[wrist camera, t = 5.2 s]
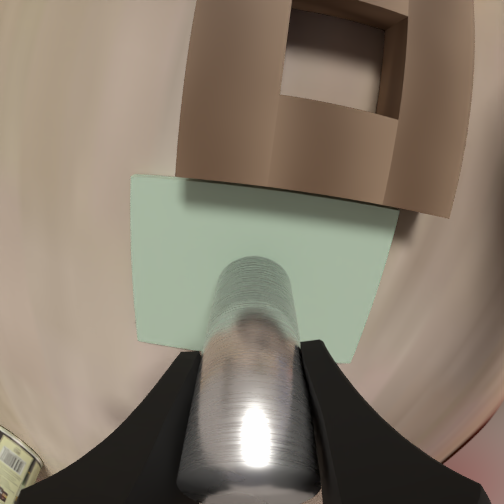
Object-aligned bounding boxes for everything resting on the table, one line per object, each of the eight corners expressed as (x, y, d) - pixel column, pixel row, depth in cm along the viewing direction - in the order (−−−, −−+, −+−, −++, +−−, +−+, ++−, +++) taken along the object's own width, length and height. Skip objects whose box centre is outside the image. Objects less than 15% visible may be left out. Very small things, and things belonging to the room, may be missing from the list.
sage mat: (394, 207, 14) (399, 210, 13) (347, 356, 17) (350, 363, 17) (135, 174, 13) (130, 176, 13) (140, 334, 17) (137, 340, 16)
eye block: (446, 0, 9) (472, -13, 7) (422, 202, 14) (449, 218, 11) (221, -53, 9) (214, -80, 7) (189, 166, 13) (174, 176, 11)
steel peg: (290, 253, 13) (329, 458, 5) (291, 317, 14) (314, 507, 6) (212, 258, 13) (158, 458, 5) (221, 321, 14) (193, 508, 6)
